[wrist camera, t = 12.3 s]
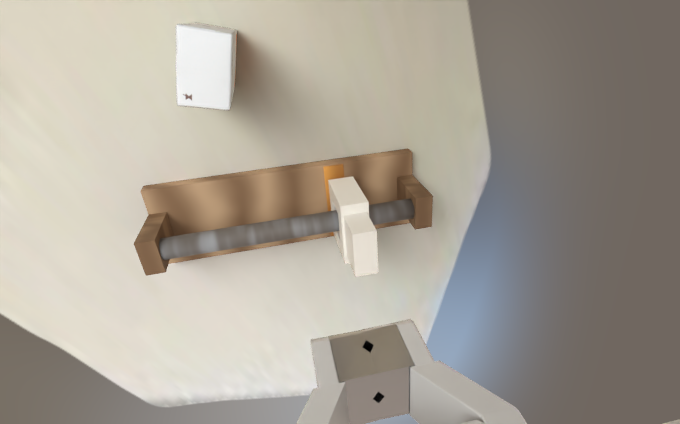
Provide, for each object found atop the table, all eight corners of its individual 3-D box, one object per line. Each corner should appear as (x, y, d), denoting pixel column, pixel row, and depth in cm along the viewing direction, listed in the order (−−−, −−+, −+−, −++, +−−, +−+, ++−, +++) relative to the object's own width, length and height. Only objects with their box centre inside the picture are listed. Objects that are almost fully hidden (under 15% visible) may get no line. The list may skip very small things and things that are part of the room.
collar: (333, 232, 50) (353, 286, 40) (328, 179, 46) (348, 225, 36) (356, 228, 50) (381, 280, 40) (352, 176, 47) (379, 219, 37)
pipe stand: (168, 257, 50) (154, 297, 43) (143, 185, 45) (123, 217, 38) (407, 217, 54) (430, 247, 47) (408, 148, 50) (433, 171, 43)
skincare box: (235, 88, 42) (230, 113, 32) (194, 83, 41) (174, 107, 31) (238, 27, 40) (233, 32, 29) (194, 20, 39) (172, 23, 28)
